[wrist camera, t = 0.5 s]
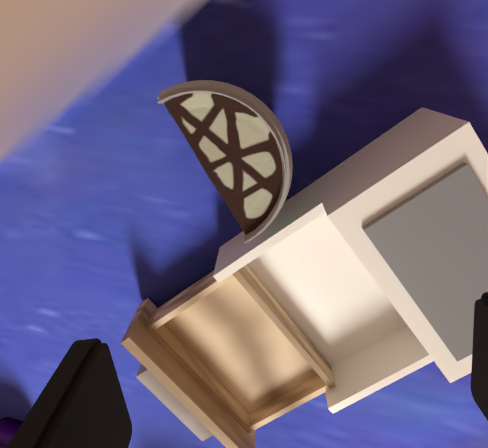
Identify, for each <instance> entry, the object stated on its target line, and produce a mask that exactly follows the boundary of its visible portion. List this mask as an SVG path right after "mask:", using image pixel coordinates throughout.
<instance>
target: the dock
mask: <svg viewBox="0 0 488 448" xmlns="http://www.w3.org/2000/svg"><path fill="white" fill-rule="evenodd" d="M245 265H247V266H248V267H249V268H250V269H251V271H252V272H253V273H254V274H255V275H256V277H257V278H258V279H259V280H260V281H261V283H262V284H263V285H264V286H265V287H266V288H267V290H268V291H269V292H270V293H271V294H272V296H273V297H274V298H275V299H276V300H277V302H278V303H279V304H280V305H281V306H282V308H283V309H284V310H285V311H286V312H287V314H288V315H289V316H290V317H291V318H292V320H293V321H294V322H295V323H296V324H297V326H298V327H299V328H300V329H301V330H302V332H303V333H304V334H305V335H306V336H307V338H308V339H309V340H310V341H311V342H312V344H313V345H314V346H315V347H316V348H317V350H318V351H319V352H320V353H321V354H322V356H323V357H324V358H325V359H326V360H327V362H328V363H329V364H330V365H331V368H332V373H333V377H334V382H335V387H333V388H331V389H329V390H328V391H326V392H325V394H326V399H327V405H328V409H329V410H330V411H331V412H332V413H335V412H337V411H339V410H341V409H343V408H345V407H347V406H348V405H350V404H352V403H354V402H356V401H358V400H360V399H362V398H364V397H366V396H368V395H370V394H371V393H373V392H375V391H377V390H379V389H381V388H383V387H385V386H387V385H389V384H391V383H392V382H394V381H396V380H398V379H400V378H402V377H404V376H406V375H408V374H410V373H412V372H414V371H415V370H417V369H419V368H421V367H423V366H425V365H427V364H429V363H431V362H433V361H434V362H435V363H436V364H437V366H438V367H439V369H440V370H441V371H442V373H443V374H444V375H445V377H446V378H447V379H448V381H449V382H450V383H452V382H454V381H455V380H457V379H459V378H461V377H463V376H465V375H467V374H469V373H471V370H472V348H473V326H474V305H475V301H476V300H477V299H481V296H482V294H483V293H485V292H488V154H487V152H486V150H485V148H484V147H483V145H482V143H481V141H480V140H479V138H478V136H477V134H476V133H475V131H474V129H473V127H472V126H471V124H470V122H468V121H465V120H462V119H458V118H455V117H452V116H449V115H446V114H443V113H439V112H436V111H433V110H430V109H427V108H423V107H421V108H420V109H418V110H417V111H415V112H414V113H412V114H411V115H410V116H408V117H407V118H405V119H404V120H402V121H401V122H399V123H398V124H397V125H395V126H394V127H392V128H391V129H389V130H388V131H386V132H385V133H384V134H382V135H381V136H379V137H378V138H376V139H375V140H373V141H372V142H371V143H369V144H368V145H366V146H365V147H363V148H362V149H361V150H359V151H358V152H356V153H355V154H353V155H352V156H350V157H349V158H348V159H346V160H345V161H343V162H342V163H340V164H339V165H337V166H336V167H335V168H333V169H332V170H330V171H329V172H327V173H326V174H324V175H323V176H322V177H320V178H319V179H317V180H316V181H314V182H313V183H311V184H310V185H309V186H307V187H306V188H304V189H303V190H301V191H300V192H298V193H297V194H296V195H294V196H293V197H291V198H290V199H288V200H287V201H285V202H284V204H283V206H282V208H281V209H280V211H279V213H278V214H277V216H276V217H275V219H274V220H273V221H272V223H271V224H270V225H269V226H268V227H267V228H266V229H265V230H264V231H263V232H262V233H260V234H259V235H258V236H257V237H255V238H254V239H252V240H250V241H249V242H246V243H245V240H244V231H242V232H241V233H239V234H238V235H236V236H235V237H233V238H232V239H231V240H229V241H228V242H226V243H225V244H223V245H222V246H220V248H219V252H218V256H217V261H216V265H215V269H214V274H213V277H214V278H215V279H216V280H217V282H218V283H220V282H221V281H223V280H224V279H226V278H227V277H229V276H230V275H232V274H233V273H235V272H236V271H238V270H239V269H241V268H242V267H244V266H245Z"/></svg>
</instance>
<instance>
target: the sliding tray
mask: <svg viewBox="0 0 488 448" xmlns="http://www.w3.org/2000/svg"><path fill="white" fill-rule="evenodd" d="M213 274H214V270H213V271H212V272H211V273H209V274H208V275H206V276H205V277H203V278H202V279H200V280H199V281H197V282H196V283H194V284H193V285H191V286H190V287H188V288H187V289H185V290H184V291H183V292H181V293H180V294H178V295H177V296H175V297H174V298H172V299H171V300H169V301H168V302H166V303H165V304H163V305H162V306H160V307H159V308H157V307H156V306H155V305H154V304H153V302H152V301H151V300H150V299H149V298H147V299H145V300H144V301H143V302H141V303H140V305H139V307H138V309H137V311H136V313H135V315H134V317H133V319H132V321H131V323H130V325H129V327H128V329H127V331H126V333H125V335H124V337H123V339H122V341H121V344H122V345H123V346H124V347H125V348H126V349H127V350H128V351H129V352H130V353H131V354H132V355H133V356H134V357H135V358H136V359H137V360H138V361H139V362H140V363H141V366H140V368H139V371H138V373H137V376H136V377H137V378H138V379H139V380H140V381H141V382H142V383H143V384H144V385H145V386H146V387H147V388H148V389H149V390H150V391H151V392H152V393H153V394H154V395H155V396H156V397H157V398H158V399H159V400H160V401H161V402H162V403H163V404H164V405H165V406H166V407H167V408H169V409H170V410H171V411H172V412H173V413H174V414H175V415H176V416H177V417H178V418H179V419H180V420H181V421H182V422H183V423H184V424H185V425H186V426H187V427H188V428H189V429H190V430H191V431H192V432H193V433H194V434H195V435H196V436H197V437H198V438H199V439H200V440H201V441H204V440H206V439H207V438H209V437H211V436H213V435H214V436H215V437H216V438H217V439H218V440H219V441H220V442H221V443H222V444H223V445H224V446H225V447H226V448H255V430H256V429H257V428H259V427H261V426H263V425H265V424H267V423H268V422H270V421H272V420H274V419H276V418H278V417H280V416H281V415H283V414H285V413H287V412H289V411H291V410H293V409H294V408H296V407H298V406H300V405H302V404H304V403H305V402H307V401H309V400H311V399H313V398H315V397H317V396H318V395H320V394H322V393H324V392H326V391H328V390H329V389H331V388H333V387H335V382H334V377H333V373H332V368H331V365H330V364H329V363H328V362H327V360H326V359H325V358H324V357H323V356H322V354H321V353H320V352H319V351H318V350H317V348H316V347H315V346H314V345H313V344H312V342H311V341H310V340H309V339H308V338H307V336H306V335H305V334H304V333H303V332H302V330H301V329H300V328H299V327H298V326H297V324H296V323H295V322H294V321H293V320H292V318H291V317H290V316H289V315H288V314H287V312H286V311H285V310H284V309H283V308H282V306H281V305H280V304H279V303H278V302H277V300H276V299H275V298H274V297H273V296H272V294H271V293H270V292H269V291H268V290H267V288H266V287H265V286H264V285H263V284H262V283H261V281H260V280H259V279H258V278H257V277H256V275H255V274H254V273H253V272H252V271H251V269H250V268H249V267H248V266H247V265H245V266H244V267H242V268H241V269H239V270H238V271H236V272H235V273H233V274H232V275H230V276H229V277H227V278H226V279H224V280H223V281H221V282H220V283H218V282H217V280H216V279H215V278H214V277H213Z"/></svg>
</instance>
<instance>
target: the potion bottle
mask: <svg viewBox="0 0 488 448" xmlns="http://www.w3.org/2000/svg"><path fill="white" fill-rule="evenodd" d="M22 423H23V421H20V420H16V419H12V418H9V417H6V418H4V419H1V420H0V448H7V446H8V445H9V443H10V441H11V440H12V438H13V437H14V435H15V434H16V432H17V430H18V429H19V427H20V426H21V424H22Z"/></svg>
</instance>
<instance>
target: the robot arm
mask: <svg viewBox="0 0 488 448" xmlns="http://www.w3.org/2000/svg"><path fill="white" fill-rule="evenodd" d="M471 392H472V395H473V398H474V400H475V402H476V404H477V405H478V407H479V408H480V410H481V411H482V413H483V414H484V416H485V417H486V419H487V420H488V292H485V293H483V294H482V296H481V299H477V300H476V301H475V305H474V326H473V348H472V370H471ZM131 435H132V424H131V420H130V417H129V413H128V410H127V407H126V403H125V400H124V397H123V393H122V390H121V387H120V383H119V380H118V377H117V373H116V370H115V367H114V363H113V360H112V357H111V353H110V350H109V347H108V345H107V344H106V343H101V341H100V340H99V339H97V338H95V339H87V340H78V341H75V342H74V343H73V344H72V346H71V347H70V349H69V350H68V352H67V354H66V355H65V357H64V358H63V360H62V361H61V363H60V365H59V366H58V368H57V369H56V371H55V372H54V374H53V375H52V377H51V379H50V380H49V382H48V383H47V385H46V386H45V388H44V390H43V391H42V393H41V394H40V396H39V397H38V399H37V401H36V402H35V404H34V405H33V407H32V408H31V410H30V412H29V413H28V415H27V416H26V418H25V419H24V421H23V423H22V424H21V426H20V427H19V429H18V430H17V432H16V434H15V435H14V437H13V438H12V440H11V441H10V443H9V445H8V446H7V448H128V446H129V442H130V439H131Z"/></svg>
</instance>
